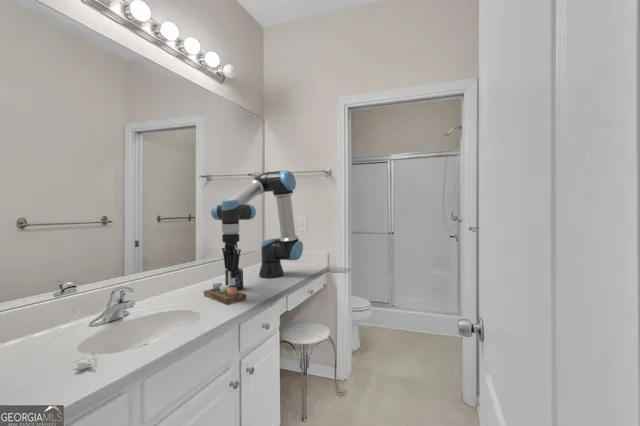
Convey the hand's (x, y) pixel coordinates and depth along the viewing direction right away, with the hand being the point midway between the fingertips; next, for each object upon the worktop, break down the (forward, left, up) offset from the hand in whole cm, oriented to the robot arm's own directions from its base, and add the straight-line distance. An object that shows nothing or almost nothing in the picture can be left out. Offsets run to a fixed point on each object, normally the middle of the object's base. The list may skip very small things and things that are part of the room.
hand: (231, 284), depth 144 cm
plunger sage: (0, -7, -6) cm, 9 cm away
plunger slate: (0, -14, -6) cm, 15 cm away
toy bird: (+58, +28, -7) cm, 65 cm away
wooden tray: (0, -7, -7) cm, 10 cm away
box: (-11, -18, -7) cm, 22 cm away
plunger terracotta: (0, 0, -6) cm, 6 cm away
